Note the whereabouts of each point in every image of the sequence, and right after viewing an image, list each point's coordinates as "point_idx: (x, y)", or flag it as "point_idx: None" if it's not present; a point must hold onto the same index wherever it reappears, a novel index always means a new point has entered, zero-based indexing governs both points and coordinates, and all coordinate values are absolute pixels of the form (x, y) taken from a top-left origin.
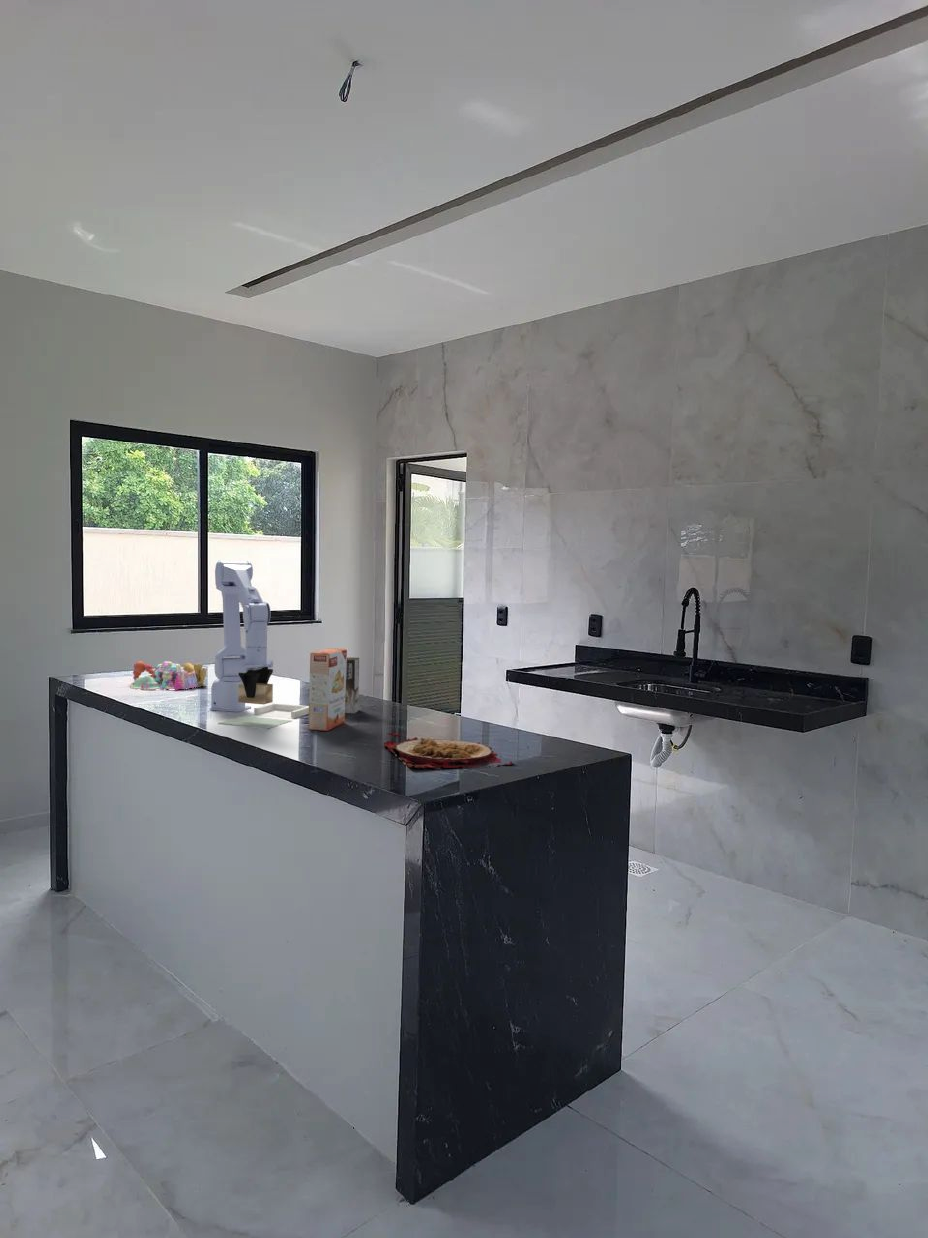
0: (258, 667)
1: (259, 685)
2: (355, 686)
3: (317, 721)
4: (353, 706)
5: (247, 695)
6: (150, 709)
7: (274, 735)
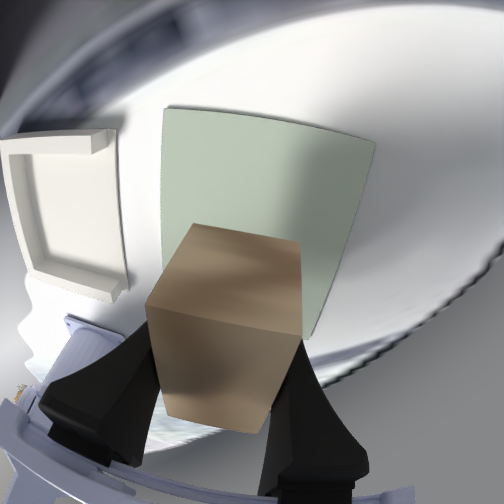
0: (149, 487)
1: (269, 368)
2: None
3: None
4: None
5: None
6: (192, 434)
7: (479, 98)
